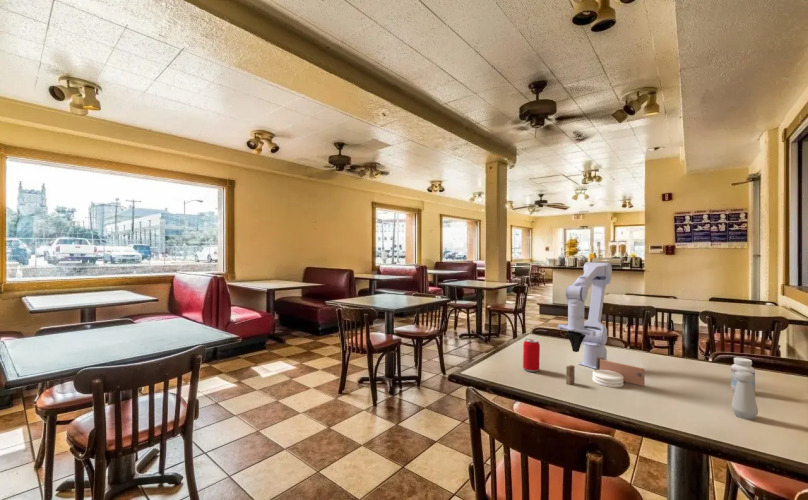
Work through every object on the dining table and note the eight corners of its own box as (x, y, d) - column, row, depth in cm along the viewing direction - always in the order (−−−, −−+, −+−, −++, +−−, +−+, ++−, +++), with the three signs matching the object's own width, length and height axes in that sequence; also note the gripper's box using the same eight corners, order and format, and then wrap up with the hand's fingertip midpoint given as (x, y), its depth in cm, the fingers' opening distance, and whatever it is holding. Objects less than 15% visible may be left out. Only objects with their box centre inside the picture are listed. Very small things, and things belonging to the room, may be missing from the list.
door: (598, 376, 137) (598, 360, 137) (600, 374, 139) (600, 359, 139) (642, 386, 126) (642, 370, 126) (644, 385, 128) (644, 368, 128)
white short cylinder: (627, 389, 125) (627, 379, 125) (595, 386, 128) (595, 376, 128) (619, 379, 135) (619, 370, 135) (589, 377, 138) (589, 367, 138)
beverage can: (538, 368, 146) (539, 339, 146) (539, 373, 140) (540, 342, 140) (522, 366, 148) (523, 337, 148) (523, 371, 142) (523, 341, 142)
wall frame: (600, 373, 141) (601, 356, 141) (603, 374, 140) (604, 356, 140) (566, 383, 130) (566, 365, 130) (569, 384, 129) (569, 365, 129)
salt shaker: (725, 412, 107) (725, 369, 107) (742, 411, 108) (743, 368, 108) (745, 421, 102) (745, 376, 102) (764, 421, 102) (764, 375, 102)
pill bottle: (748, 389, 126) (748, 357, 126) (759, 396, 120) (759, 362, 120) (727, 387, 128) (727, 355, 128) (736, 393, 122) (736, 360, 122)
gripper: (553, 314, 142) (552, 348, 142) (588, 320, 130) (587, 357, 130) (564, 312, 146) (563, 345, 146) (599, 318, 134) (598, 354, 134)
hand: (575, 351), depth 138 cm, fingers closed
